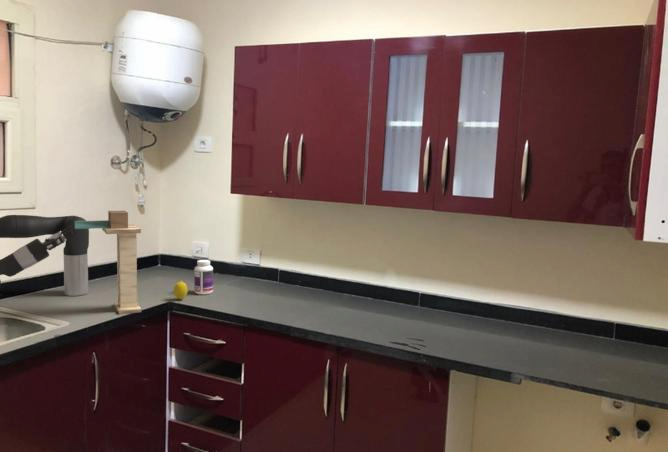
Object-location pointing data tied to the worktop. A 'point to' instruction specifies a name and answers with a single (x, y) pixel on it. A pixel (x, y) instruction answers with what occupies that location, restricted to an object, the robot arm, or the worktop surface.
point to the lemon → (180, 290)
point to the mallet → (106, 221)
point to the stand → (126, 268)
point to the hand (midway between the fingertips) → (73, 229)
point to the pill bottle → (203, 277)
